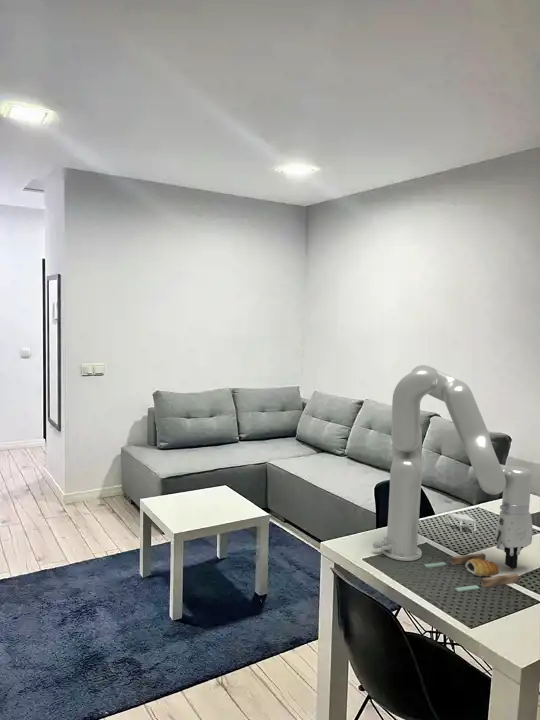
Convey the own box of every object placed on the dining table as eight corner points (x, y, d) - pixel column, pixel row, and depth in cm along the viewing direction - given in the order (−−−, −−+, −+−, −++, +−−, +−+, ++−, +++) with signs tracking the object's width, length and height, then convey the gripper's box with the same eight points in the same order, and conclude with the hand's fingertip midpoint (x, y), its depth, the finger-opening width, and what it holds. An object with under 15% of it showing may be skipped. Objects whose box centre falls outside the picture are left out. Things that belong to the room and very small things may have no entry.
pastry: (490, 566, 174) (491, 554, 173) (504, 576, 167) (505, 564, 167) (463, 568, 172) (463, 556, 171) (475, 578, 165) (476, 566, 165)
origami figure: (479, 529, 203) (480, 516, 203) (475, 536, 196) (476, 523, 196) (446, 521, 209) (446, 508, 209) (440, 528, 202) (441, 515, 202)
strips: (458, 592, 156) (458, 590, 156) (424, 565, 172) (424, 564, 172) (479, 589, 158) (479, 587, 158) (443, 563, 174) (443, 562, 174)
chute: (483, 587, 159) (484, 580, 159) (450, 563, 174) (450, 557, 174) (518, 582, 163) (518, 575, 163) (482, 559, 178) (483, 553, 178)
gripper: (503, 514, 164) (499, 574, 166) (544, 510, 169) (539, 569, 171) (486, 505, 171) (482, 563, 173) (526, 501, 176) (521, 558, 178)
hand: (510, 566), depth 172 cm, fingers closed
